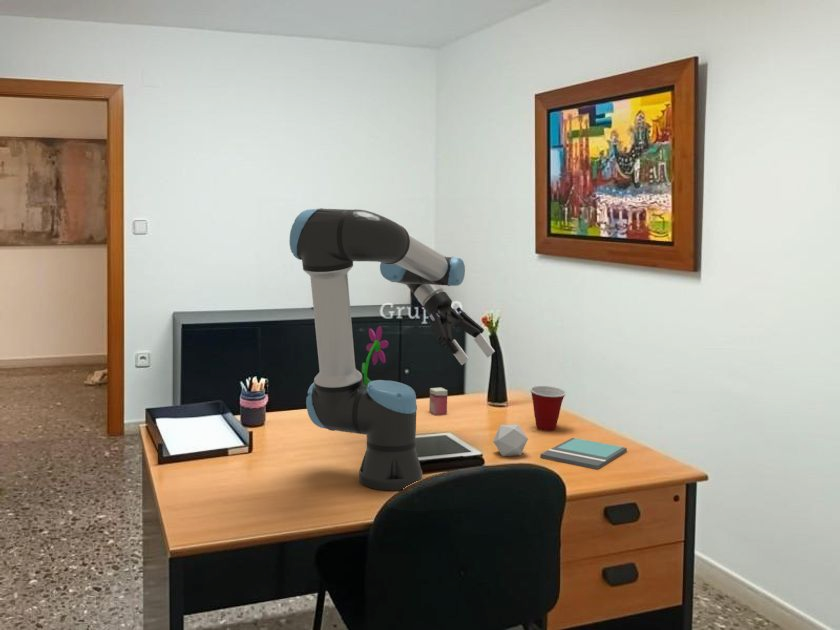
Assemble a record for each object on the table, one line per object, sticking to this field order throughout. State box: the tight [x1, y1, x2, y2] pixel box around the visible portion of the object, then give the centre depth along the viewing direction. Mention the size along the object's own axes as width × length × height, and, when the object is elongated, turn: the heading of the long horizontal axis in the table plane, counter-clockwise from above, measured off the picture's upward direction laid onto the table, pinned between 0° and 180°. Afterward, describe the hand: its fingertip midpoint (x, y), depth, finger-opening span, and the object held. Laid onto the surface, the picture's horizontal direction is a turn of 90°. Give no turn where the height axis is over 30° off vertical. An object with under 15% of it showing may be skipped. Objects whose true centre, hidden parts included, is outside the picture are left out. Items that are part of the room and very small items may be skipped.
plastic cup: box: [529, 385, 567, 432], centre depth 242 cm, size 11×11×12 cm
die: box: [492, 424, 529, 457], centre depth 216 cm, size 8×9×10 cm
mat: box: [539, 437, 628, 470], centre depth 217 cm, size 20×16×1 cm
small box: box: [428, 387, 448, 416], centre depth 259 cm, size 5×4×8 cm
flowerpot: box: [361, 325, 389, 386], centre depth 242 cm, size 14×14×30 cm
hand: (478, 358), depth 220 cm, fingers open, 13 cm apart
